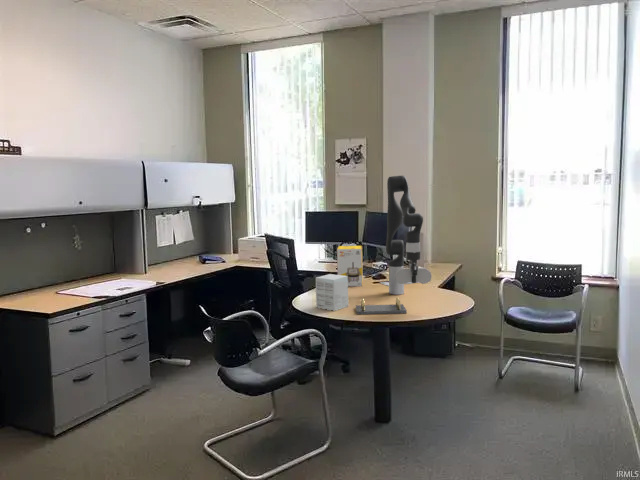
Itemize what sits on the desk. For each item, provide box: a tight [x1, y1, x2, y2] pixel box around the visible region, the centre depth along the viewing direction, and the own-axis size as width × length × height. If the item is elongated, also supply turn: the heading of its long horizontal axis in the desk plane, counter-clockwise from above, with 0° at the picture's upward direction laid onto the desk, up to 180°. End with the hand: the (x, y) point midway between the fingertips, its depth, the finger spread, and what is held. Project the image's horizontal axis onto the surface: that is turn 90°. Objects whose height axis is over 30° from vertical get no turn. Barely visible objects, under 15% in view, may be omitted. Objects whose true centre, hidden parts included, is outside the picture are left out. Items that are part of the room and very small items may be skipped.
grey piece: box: [395, 267, 433, 285], centre depth 288 cm, size 20×2×8 cm, turn 91°
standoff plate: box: [355, 297, 407, 315], centre depth 288 cm, size 14×26×6 cm, turn 89°
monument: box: [379, 266, 431, 287], centre depth 363 cm, size 12×33×10 cm, turn 113°
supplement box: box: [315, 273, 349, 312], centre depth 298 cm, size 13×13×18 cm
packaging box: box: [336, 245, 364, 287], centre depth 362 cm, size 16×16×25 cm
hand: (413, 282), depth 288 cm, fingers closed on grey piece, 2 cm apart
